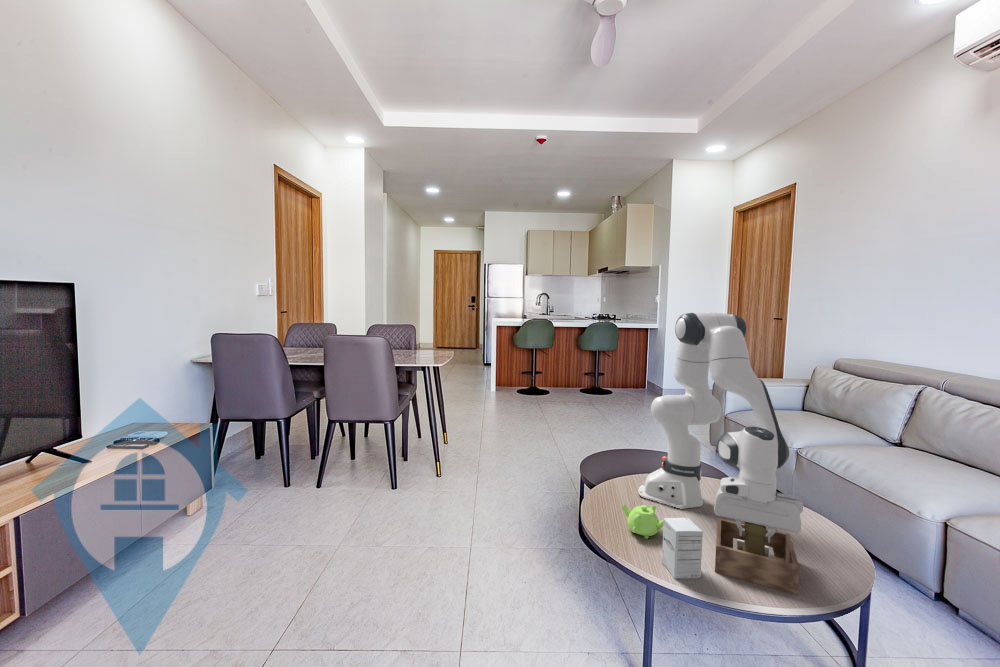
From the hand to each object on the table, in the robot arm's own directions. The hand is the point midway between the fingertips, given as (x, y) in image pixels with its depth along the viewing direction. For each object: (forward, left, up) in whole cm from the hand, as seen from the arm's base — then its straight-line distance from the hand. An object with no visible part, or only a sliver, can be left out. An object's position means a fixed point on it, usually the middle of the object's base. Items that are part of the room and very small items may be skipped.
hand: (754, 538), depth 114 cm
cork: (0, 0, -7) cm, 7 cm away
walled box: (0, 0, -7) cm, 7 cm away
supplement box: (-17, -13, -8) cm, 23 cm away
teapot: (-29, +3, -8) cm, 30 cm away
